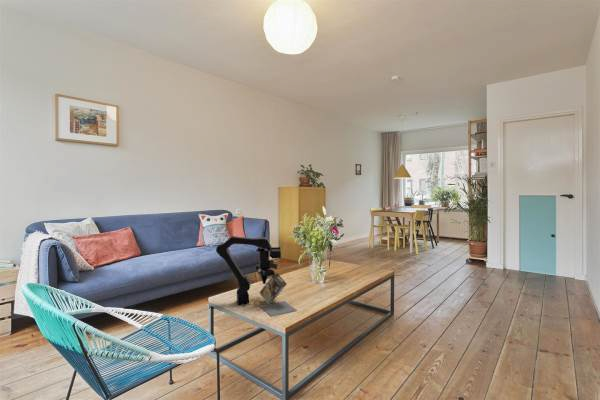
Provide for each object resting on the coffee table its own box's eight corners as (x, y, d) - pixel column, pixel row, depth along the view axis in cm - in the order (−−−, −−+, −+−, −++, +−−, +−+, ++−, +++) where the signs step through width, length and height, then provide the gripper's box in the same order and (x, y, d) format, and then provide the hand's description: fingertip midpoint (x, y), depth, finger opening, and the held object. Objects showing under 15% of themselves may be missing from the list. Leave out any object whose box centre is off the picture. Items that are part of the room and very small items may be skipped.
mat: (270, 316, 163) (270, 316, 163) (259, 306, 177) (259, 305, 177) (296, 310, 170) (296, 310, 170) (284, 301, 184) (284, 301, 184)
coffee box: (274, 300, 185) (287, 284, 178) (268, 304, 180) (281, 288, 172) (265, 288, 188) (277, 272, 181) (258, 292, 182) (271, 276, 175)
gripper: (282, 260, 179) (282, 286, 179) (270, 254, 195) (270, 278, 196) (265, 262, 173) (265, 289, 174) (253, 256, 190) (254, 280, 190)
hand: (264, 283), depth 183 cm, fingers closed
